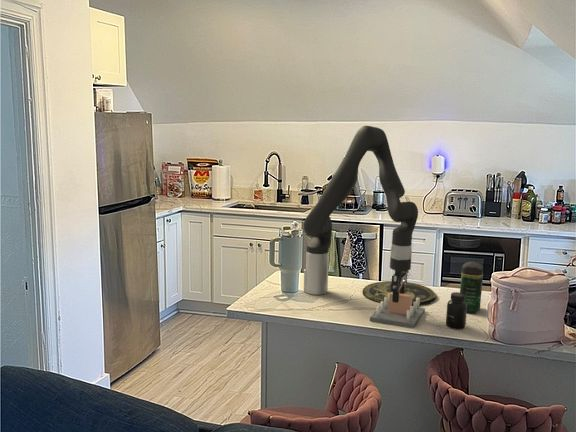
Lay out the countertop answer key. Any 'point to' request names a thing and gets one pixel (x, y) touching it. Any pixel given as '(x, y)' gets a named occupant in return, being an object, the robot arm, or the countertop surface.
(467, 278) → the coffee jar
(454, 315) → the supplement bottle
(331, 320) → the countertop surface
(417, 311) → the dish rack
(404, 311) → the tile
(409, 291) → the decorative plate
